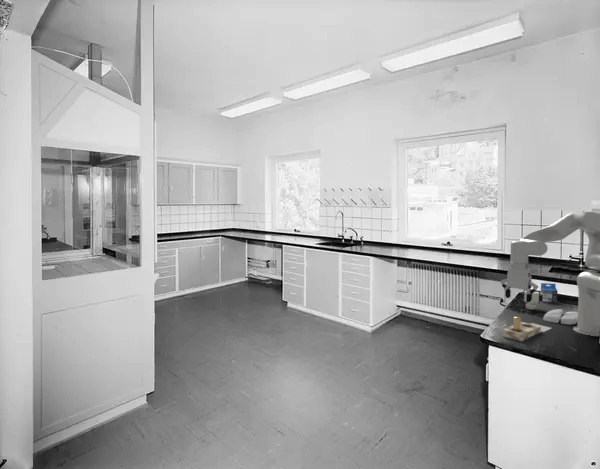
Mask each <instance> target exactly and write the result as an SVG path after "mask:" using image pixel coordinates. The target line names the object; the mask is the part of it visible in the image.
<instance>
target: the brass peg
mask: <svg viewBox="0 0 600 469" xmlns="http://www.w3.org/2000/svg"><path fill="white" fill-rule="evenodd" d="M521 319H522V317H520V316H513V325H512V326H513V331H516V332H520V323H521V322H522V320H521Z"/></svg>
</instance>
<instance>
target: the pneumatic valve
mask: <svg viewBox="0 0 600 469" xmlns="http://www.w3.org/2000/svg"><path fill="white" fill-rule="evenodd" d="M540 293H541V291H540V292H539V291H535V292H534V293H532V300H531V301H530V302H526V297H527V294H528V293H527V292H526V290H523V292H522V291H521V292H520V296H519V298H520V300H522V302H525V303H526V304H525V308H526V309H528V310H532V311H534V310H536V309H537V304H541V302H542V301H543V295H542V294H540Z"/></svg>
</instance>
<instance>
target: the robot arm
mask: <svg viewBox="0 0 600 469" xmlns="http://www.w3.org/2000/svg"><path fill="white" fill-rule="evenodd" d="M578 230H582V231H584V233H585V234H586V235H587V237H588V245H587V246H588V247H587V250H586V255H585V258H584V259H585V260H584V264H585V266H586V267H587V268H588V269H592V270H595V271H590V270H589V271H588V270H587V271H586V270H585V271H582V272H580V273H579V274H578V275H577V278H576V284H577V289H578V290H577V291H578V301H577V303H578V304H577V312H578V319H577V323H576V324H577V325H576V326H575V325H574V326H573V329H572V330H573V331H575V332H576V333H578V334H581V335H586V336H589V335H590V336H591V337H600V336H599V335H600V272H596V271H600V213H598V212H593V211H572V212H569V213H567V214H565V216H563V217H561V218H560V219H558V220H556V221H555V222H554V223H552V224H551V225H549V226H548V225H547V226H545V227H543V228H540V229H537V230H534V231H531V232H530V233H528V234H526V235H525V236H523V237H522V238H520V239H519V240H513V241H511V242H510V257H509V258H510V262H509V264H510V265H509V266H510V267H509V268H508V270H507V274H506V278H504V279H500V281H499V282H500V284H501V286H502V287H503V290H504V292H505V298H506V299H509V298H511V295H512V294H511V289H512V288H513V289H517V290H523V291H526V292H527V293H528V294H527V297H526V302H525V303H528V302H530V301H531V300H532V293H534V292H537V289H538V288H539V286H538V285H537V284H536V283H534V282H533V280H532V273H531V269H530V268H532V265H531V264H529V256H536V257H537V256H538V257H540V256H543V255H545V254H546V253H547V251H548V245H547V244H546V243H549V242H551V243H552V242H556V241H561V240H564V239H565V238H567V237H568V236H570V235H571V234H573V233H574V232H576V231H578Z"/></svg>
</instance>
